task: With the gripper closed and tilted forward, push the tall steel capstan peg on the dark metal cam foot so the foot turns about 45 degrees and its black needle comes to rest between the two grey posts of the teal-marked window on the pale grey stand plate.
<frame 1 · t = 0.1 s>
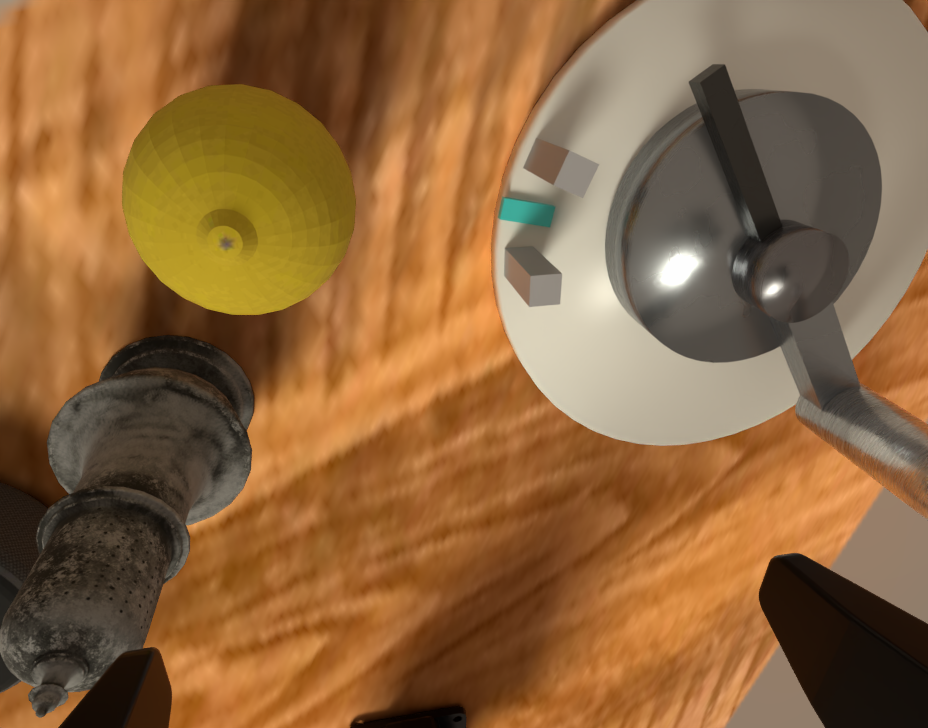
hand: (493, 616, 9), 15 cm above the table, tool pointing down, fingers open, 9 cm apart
cam foot: (859, 323, 17), point 7 cm above the table, hinge at 0.0°
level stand: (714, 236, 23), on the table
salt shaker: (179, 398, 22), on the table
lemon: (263, 173, 19), on the table
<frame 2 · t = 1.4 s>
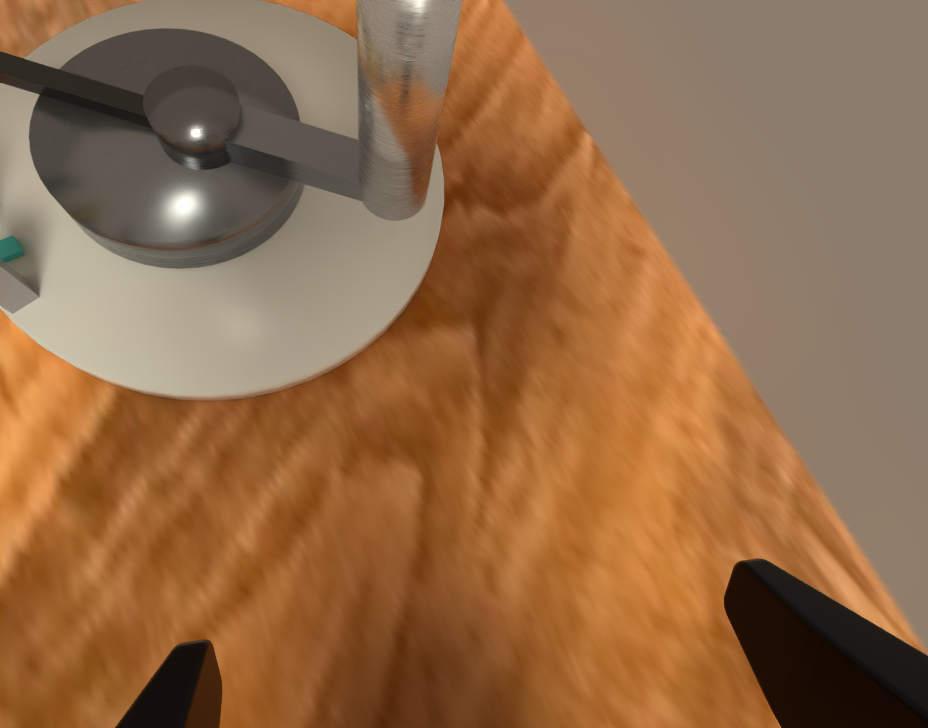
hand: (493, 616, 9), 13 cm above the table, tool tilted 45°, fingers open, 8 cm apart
cam foot: (179, 55, 17), point 7 cm above the table, hinge at 0.0°
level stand: (225, 189, 24), on the table
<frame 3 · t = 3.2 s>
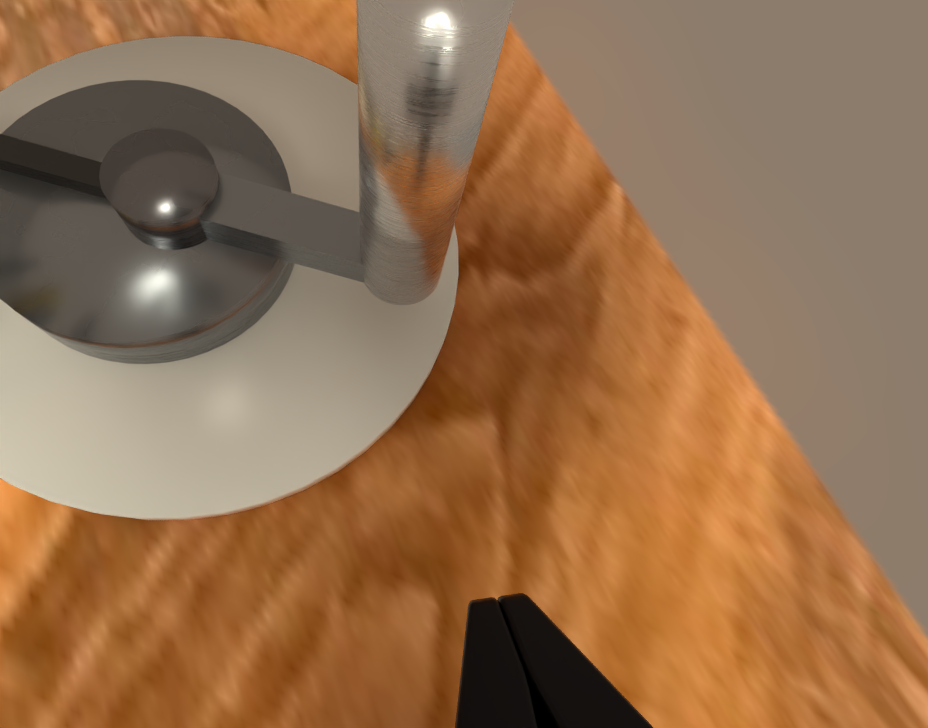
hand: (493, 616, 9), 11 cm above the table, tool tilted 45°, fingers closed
cam foot: (137, 125, 14), point 7 cm above the table, hinge at 0.0°
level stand: (205, 261, 21), on the table
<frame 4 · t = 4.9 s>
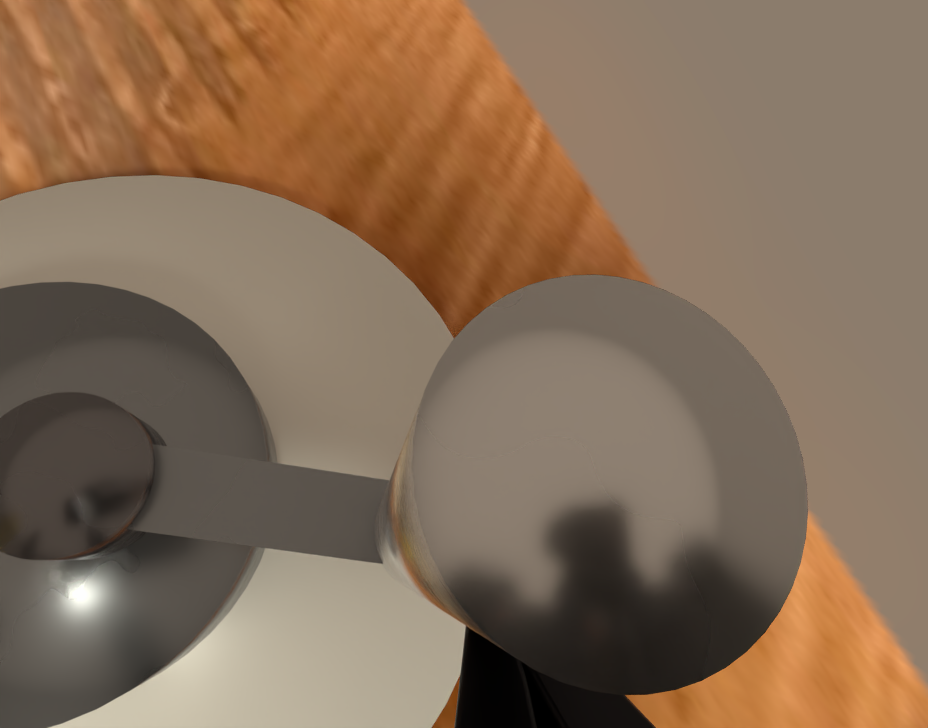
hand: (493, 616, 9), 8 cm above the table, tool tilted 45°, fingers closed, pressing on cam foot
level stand: (151, 498, 15), on the table
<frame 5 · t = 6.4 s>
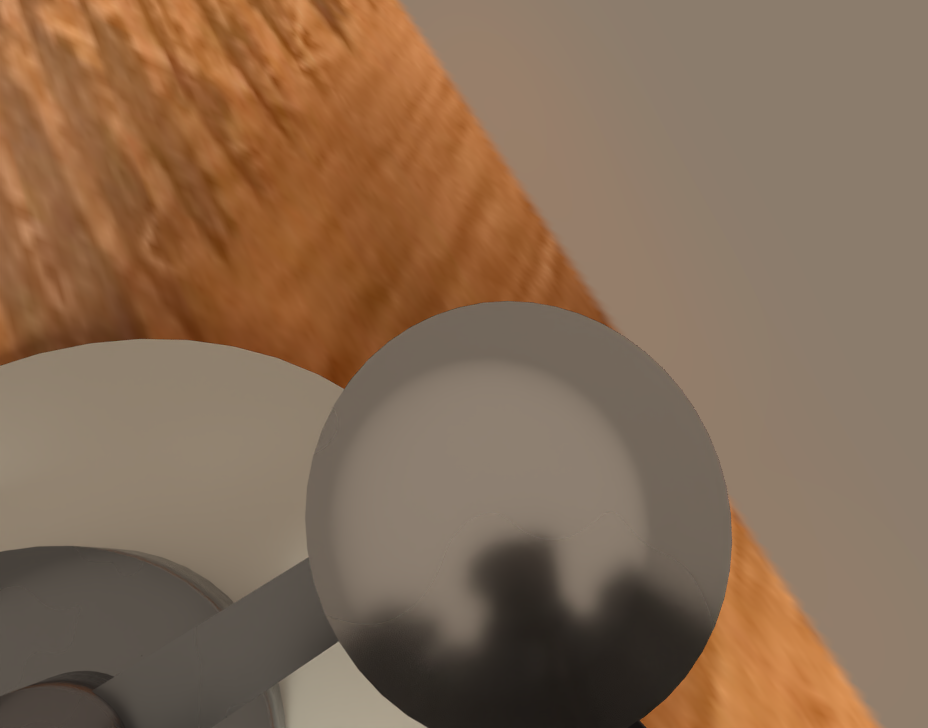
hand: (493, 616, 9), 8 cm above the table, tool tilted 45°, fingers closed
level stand: (134, 716, 14), on the table
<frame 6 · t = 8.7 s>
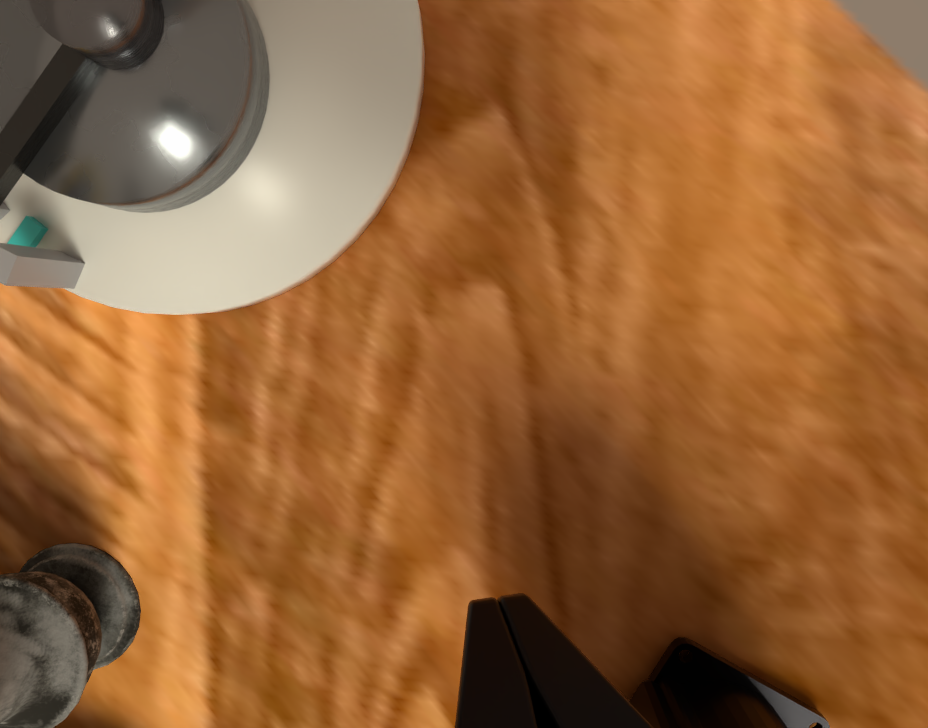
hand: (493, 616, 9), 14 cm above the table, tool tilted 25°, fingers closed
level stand: (178, 65, 21), on the table
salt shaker: (80, 604, 24), on the table
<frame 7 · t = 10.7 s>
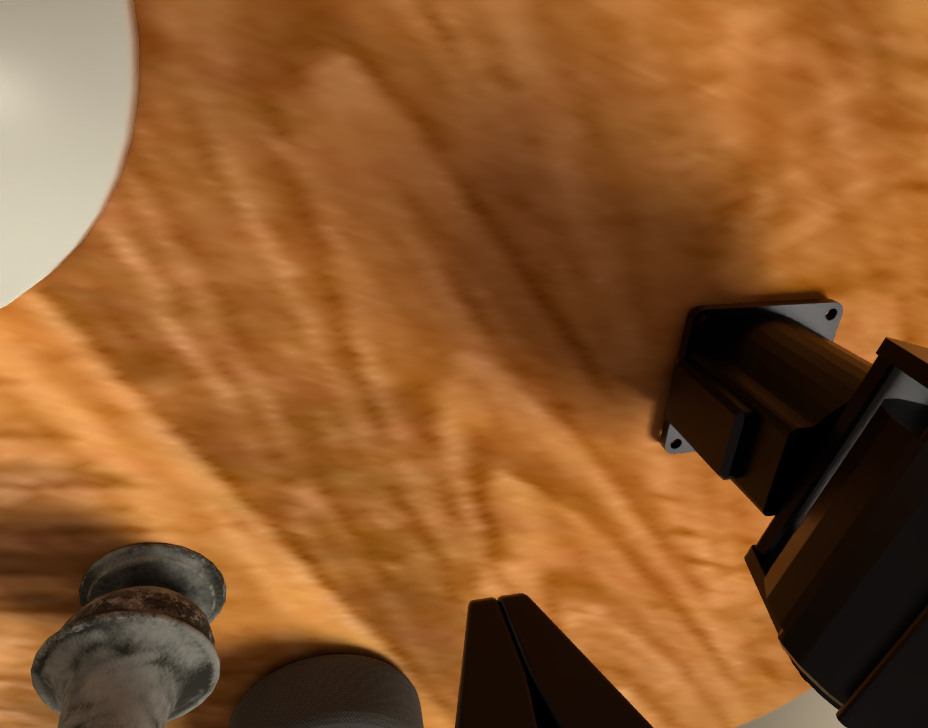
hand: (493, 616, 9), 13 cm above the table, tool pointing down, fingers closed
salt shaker: (156, 589, 24), on the table
smart speaker: (327, 700, 29), on the table
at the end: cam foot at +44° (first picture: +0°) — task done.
